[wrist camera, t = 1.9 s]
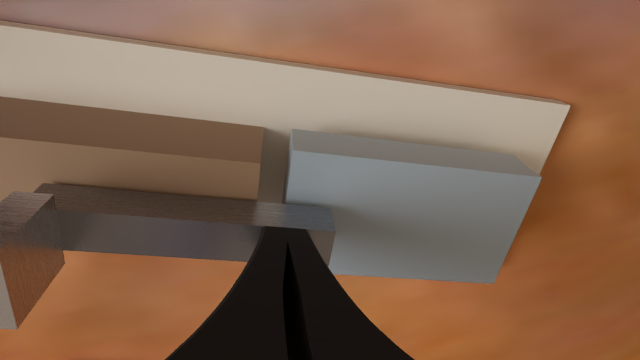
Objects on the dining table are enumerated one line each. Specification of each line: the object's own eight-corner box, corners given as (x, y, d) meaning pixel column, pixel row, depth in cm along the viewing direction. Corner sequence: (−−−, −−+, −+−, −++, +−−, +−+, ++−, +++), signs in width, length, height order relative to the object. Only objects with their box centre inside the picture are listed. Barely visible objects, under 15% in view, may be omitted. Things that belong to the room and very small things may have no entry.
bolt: (321, 252, 14) (335, 340, 11) (51, 233, 13) (-29, 327, 10) (333, 195, 13) (352, 272, 10) (40, 168, 12) (-55, 247, 9)
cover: (472, 253, 18) (493, 283, 17) (276, 239, 17) (276, 270, 15) (513, 154, 16) (542, 177, 14) (291, 128, 15) (293, 150, 13)
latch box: (487, 263, 21) (531, 324, 18) (-11, 228, 18) (-88, 297, 14) (559, 99, 17) (635, 135, 14) (-68, 10, 14) (-195, 25, 10)
